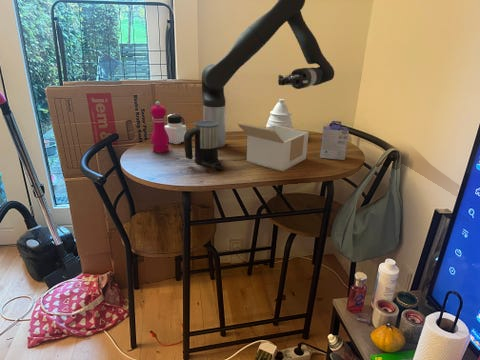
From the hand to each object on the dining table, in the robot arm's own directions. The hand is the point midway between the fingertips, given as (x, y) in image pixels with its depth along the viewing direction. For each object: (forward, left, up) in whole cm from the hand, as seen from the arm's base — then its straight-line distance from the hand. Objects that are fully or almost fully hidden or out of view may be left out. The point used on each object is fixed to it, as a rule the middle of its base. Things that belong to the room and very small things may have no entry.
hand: (280, 82), depth 125 cm
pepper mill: (-47, +3, -30) cm, 56 cm away
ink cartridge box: (+23, +10, -30) cm, 39 cm away
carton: (+1, +1, -30) cm, 30 cm away
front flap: (-5, -10, -16) cm, 20 cm away
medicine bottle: (-45, +16, -30) cm, 57 cm away
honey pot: (0, +35, -30) cm, 46 cm away
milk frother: (-24, -9, -30) cm, 39 cm away
